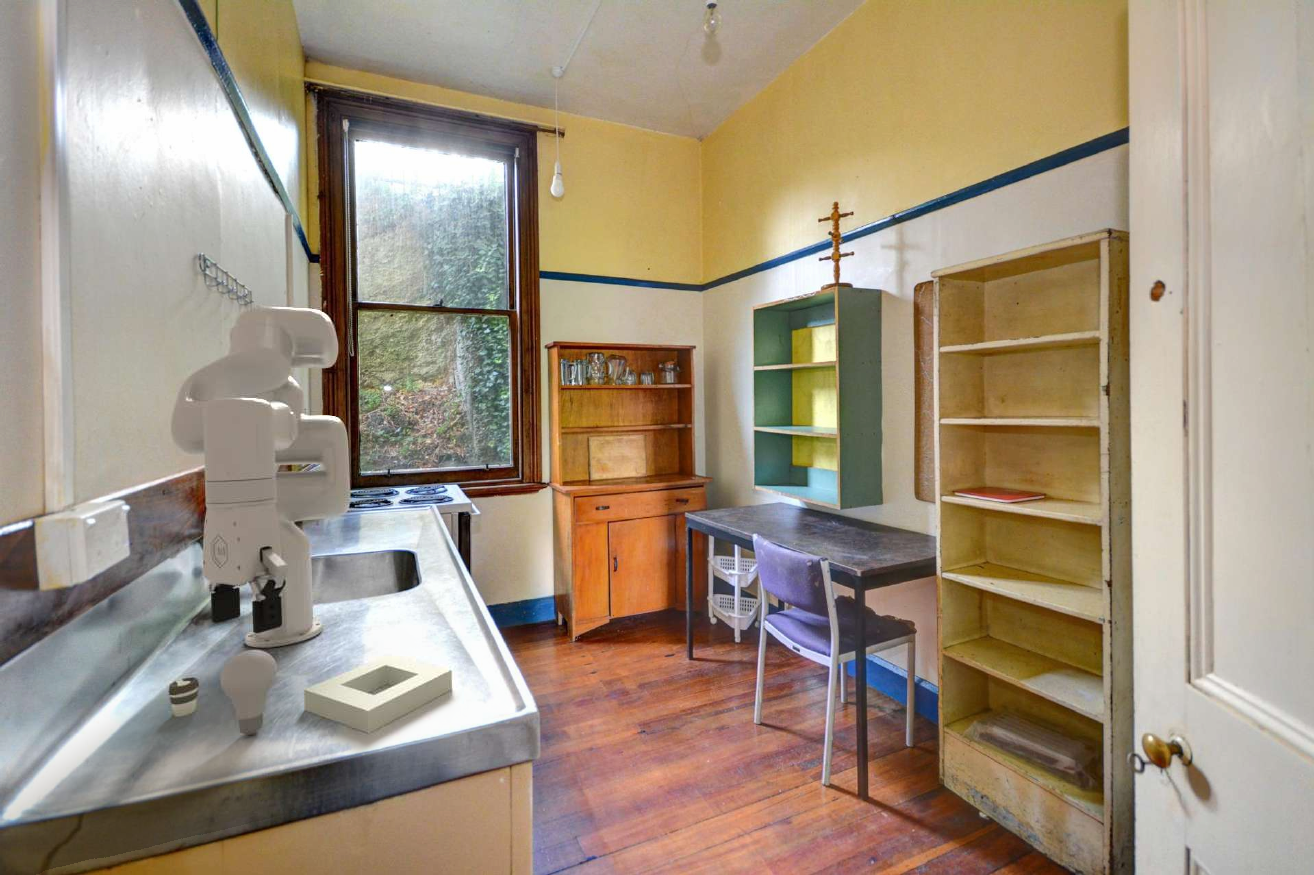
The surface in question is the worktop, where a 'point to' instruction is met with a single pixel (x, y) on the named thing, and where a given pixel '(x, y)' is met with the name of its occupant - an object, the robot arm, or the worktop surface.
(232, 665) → the lightbulb
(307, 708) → the socket block
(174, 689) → the coffee cup
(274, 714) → the worktop surface
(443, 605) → the worktop surface
